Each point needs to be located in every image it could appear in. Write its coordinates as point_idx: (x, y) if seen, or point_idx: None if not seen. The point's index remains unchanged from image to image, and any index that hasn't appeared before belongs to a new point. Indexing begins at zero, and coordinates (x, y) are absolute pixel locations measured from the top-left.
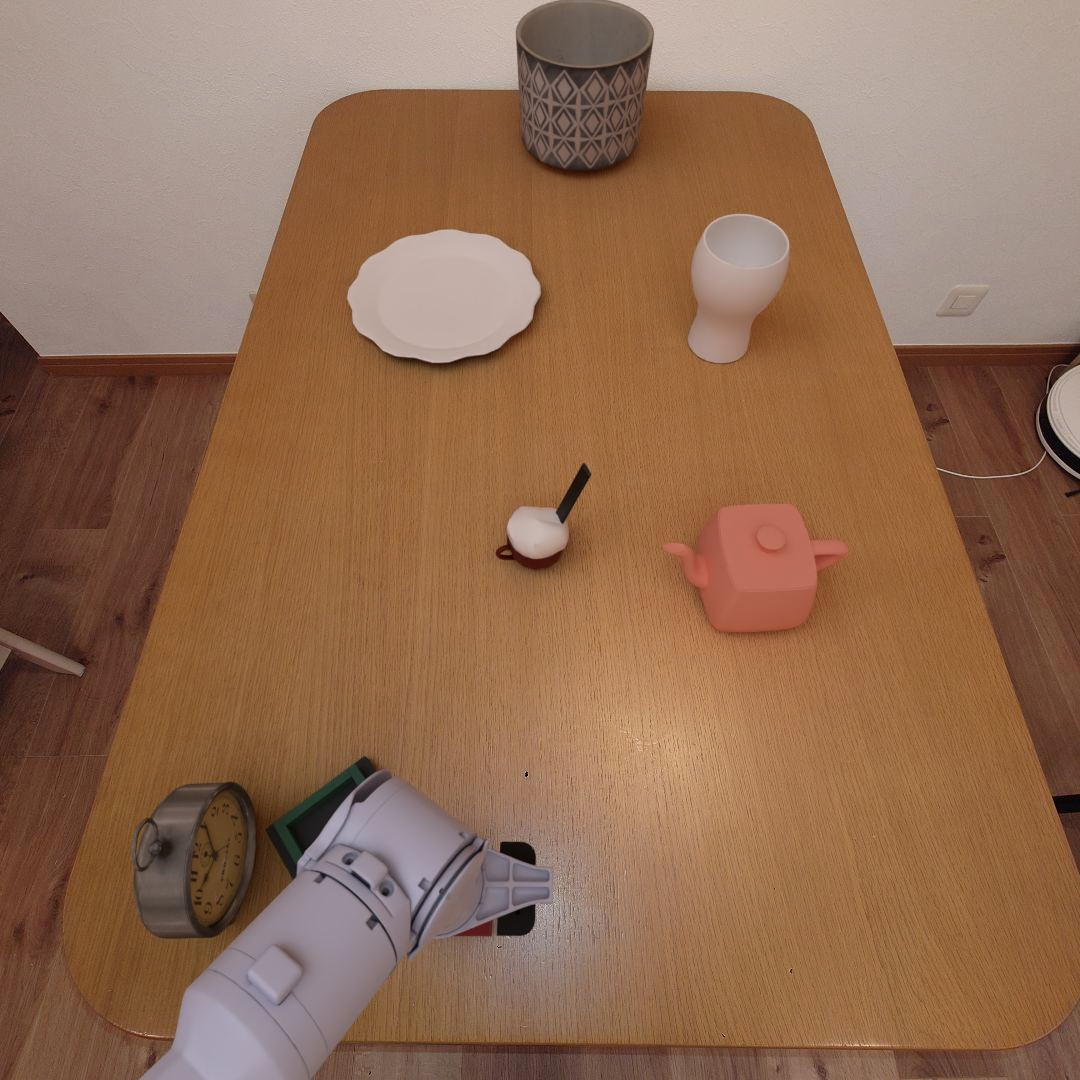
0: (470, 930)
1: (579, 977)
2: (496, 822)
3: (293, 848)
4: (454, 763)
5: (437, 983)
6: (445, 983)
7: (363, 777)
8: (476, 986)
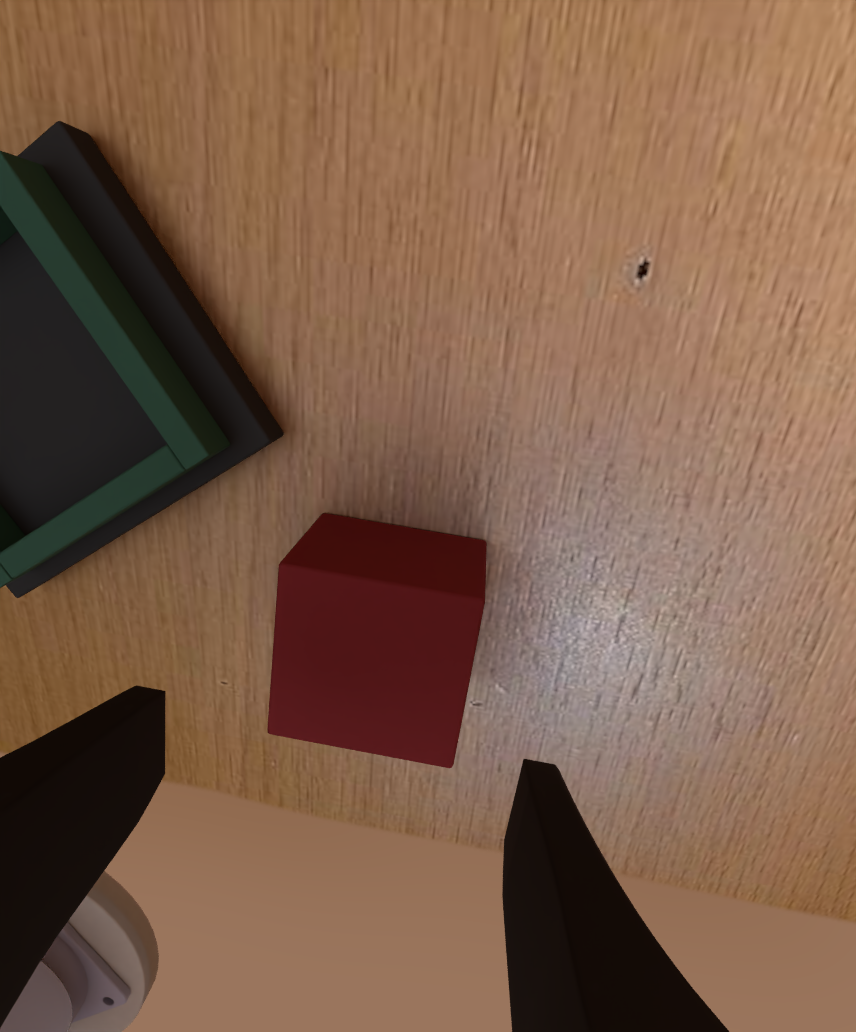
0: (400, 749)
1: (656, 791)
2: (512, 415)
3: None
4: (392, 193)
5: None
6: None
7: (41, 214)
8: (412, 761)
